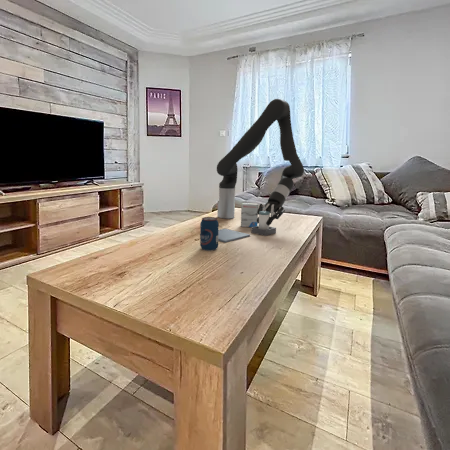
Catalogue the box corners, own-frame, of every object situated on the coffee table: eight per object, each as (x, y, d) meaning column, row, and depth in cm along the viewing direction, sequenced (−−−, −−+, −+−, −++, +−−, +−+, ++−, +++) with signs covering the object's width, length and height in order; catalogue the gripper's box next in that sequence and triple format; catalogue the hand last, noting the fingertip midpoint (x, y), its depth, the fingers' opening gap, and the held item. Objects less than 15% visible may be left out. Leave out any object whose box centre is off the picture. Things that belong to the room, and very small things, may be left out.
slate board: (199, 235, 141) (199, 233, 141) (224, 230, 152) (224, 228, 152) (225, 242, 130) (225, 240, 130) (250, 236, 141) (250, 234, 141)
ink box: (257, 225, 164) (258, 203, 162) (257, 227, 159) (258, 204, 157) (241, 224, 165) (241, 202, 163) (240, 226, 160) (241, 204, 158)
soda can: (196, 249, 119) (197, 219, 117) (205, 245, 126) (205, 216, 123) (213, 252, 117) (213, 220, 114) (221, 247, 123) (221, 217, 120)
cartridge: (256, 232, 148) (257, 211, 146) (262, 231, 152) (263, 210, 150) (264, 234, 145) (265, 213, 143) (271, 232, 149) (272, 212, 146)
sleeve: (251, 232, 148) (251, 227, 148) (262, 229, 154) (262, 225, 154) (265, 235, 143) (265, 230, 142) (275, 233, 149) (276, 227, 148)
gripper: (264, 189, 155) (247, 216, 149) (288, 192, 145) (272, 221, 139) (269, 199, 160) (254, 225, 154) (294, 202, 150) (278, 230, 144)
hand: (262, 223), depth 147 cm, fingers closed on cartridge, 5 cm apart
